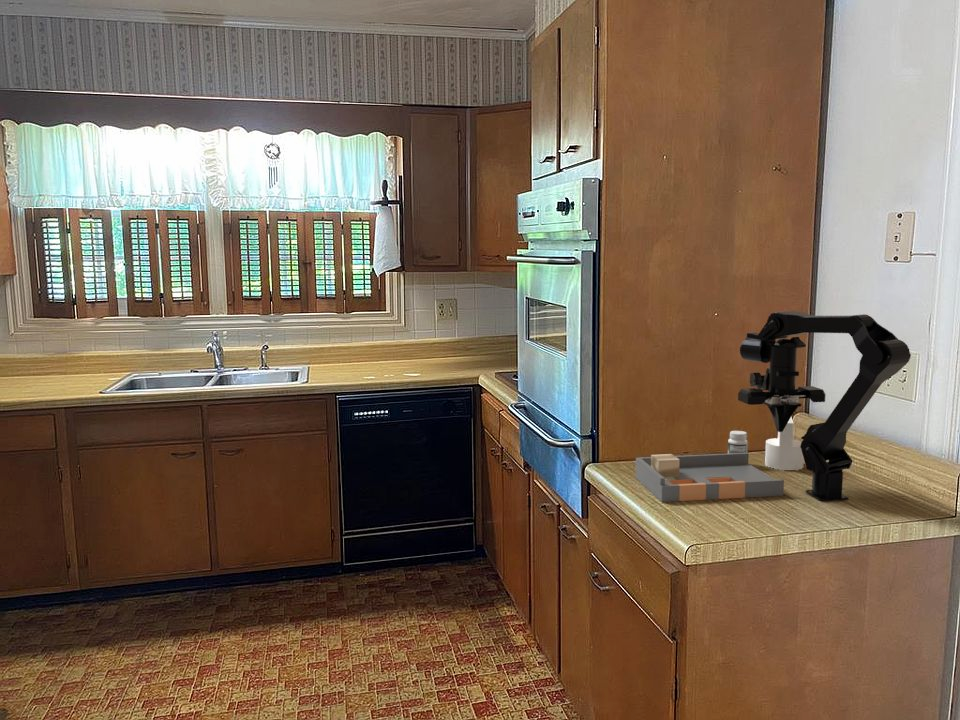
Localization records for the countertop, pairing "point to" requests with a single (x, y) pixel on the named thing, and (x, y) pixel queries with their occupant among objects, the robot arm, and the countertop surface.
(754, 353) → the robot arm
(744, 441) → the pill bottle
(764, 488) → the grey tray
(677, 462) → the birch block
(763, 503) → the countertop surface
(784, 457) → the base with upright slab
